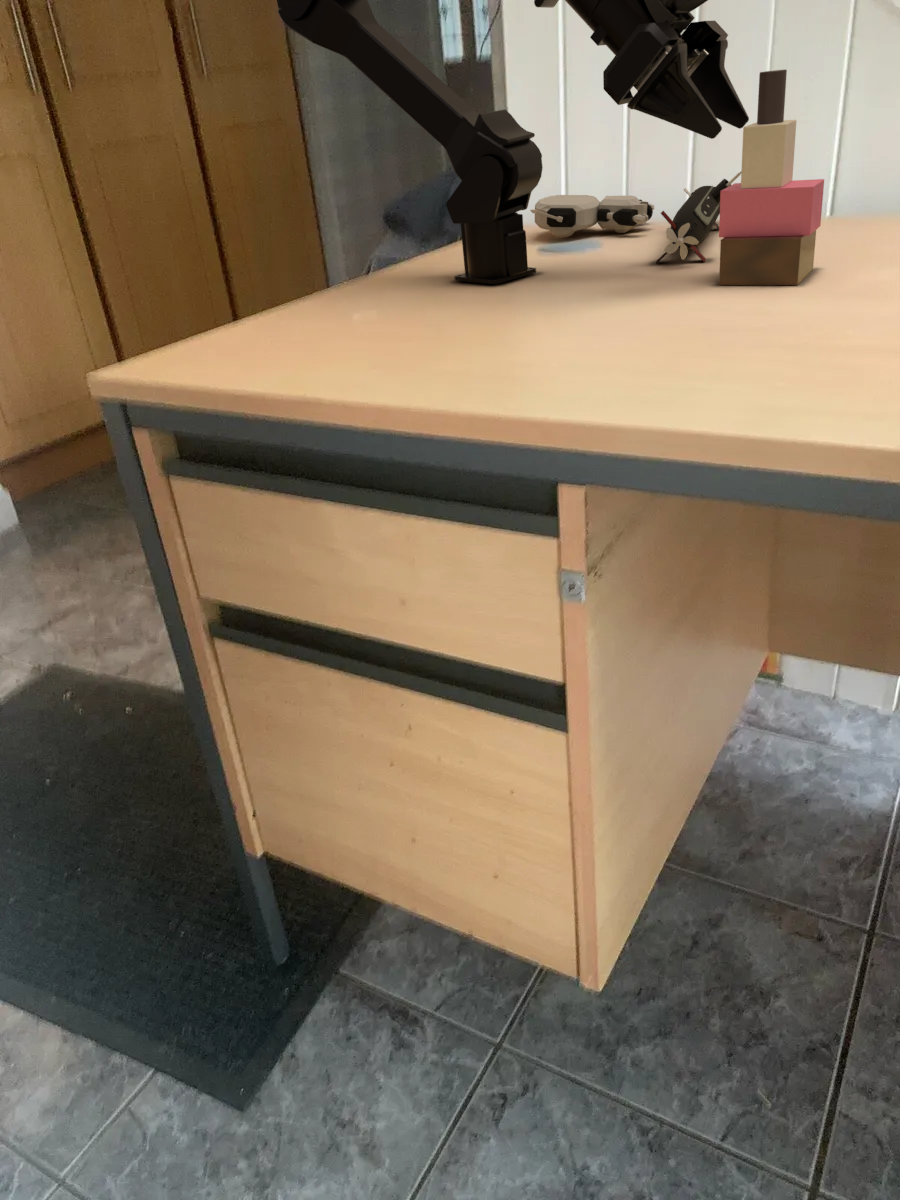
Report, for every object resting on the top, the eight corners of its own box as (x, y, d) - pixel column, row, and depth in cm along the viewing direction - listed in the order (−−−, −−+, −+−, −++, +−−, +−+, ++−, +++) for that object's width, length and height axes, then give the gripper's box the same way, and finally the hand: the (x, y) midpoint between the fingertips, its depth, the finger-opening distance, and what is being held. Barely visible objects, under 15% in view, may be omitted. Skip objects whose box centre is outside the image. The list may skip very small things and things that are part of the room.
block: (718, 285, 87) (720, 239, 85) (738, 269, 92) (740, 226, 90) (797, 285, 84) (801, 238, 82) (813, 269, 89) (816, 224, 87)
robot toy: (654, 228, 125) (543, 226, 128) (657, 191, 122) (543, 191, 126) (646, 244, 115) (525, 242, 118) (649, 204, 112) (526, 203, 116)
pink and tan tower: (718, 237, 86) (724, 76, 80) (732, 228, 90) (738, 73, 84) (810, 235, 83) (823, 66, 76) (820, 226, 86) (834, 63, 80)
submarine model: (673, 292, 97) (753, 219, 91) (630, 244, 96) (707, 167, 90) (703, 240, 122) (766, 181, 117) (668, 201, 121) (731, 139, 116)
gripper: (639, -100, 71) (779, 52, 71) (709, -83, 85) (825, 45, 85) (549, 32, 79) (675, 170, 79) (626, 29, 93) (733, 146, 93)
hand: (732, 129), depth 84 cm, fingers open, 9 cm apart
